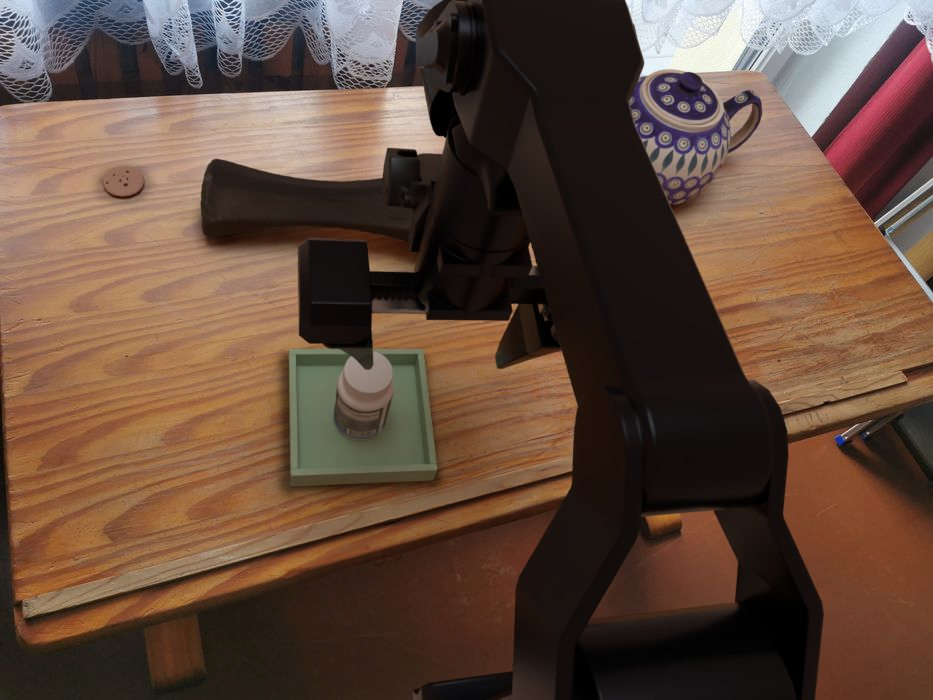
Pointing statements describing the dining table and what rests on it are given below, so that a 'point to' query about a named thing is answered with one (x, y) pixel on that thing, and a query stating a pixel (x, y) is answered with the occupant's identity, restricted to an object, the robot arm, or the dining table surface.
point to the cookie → (123, 181)
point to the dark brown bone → (294, 203)
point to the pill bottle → (363, 398)
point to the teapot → (688, 129)
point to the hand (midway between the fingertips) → (434, 363)
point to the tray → (352, 461)
